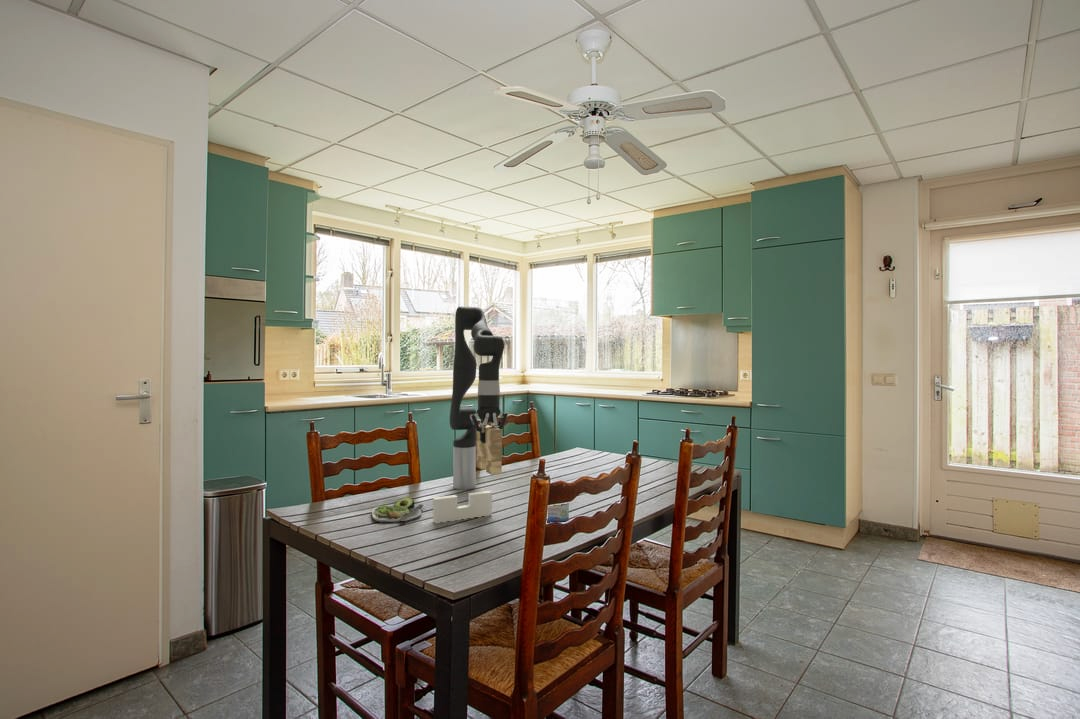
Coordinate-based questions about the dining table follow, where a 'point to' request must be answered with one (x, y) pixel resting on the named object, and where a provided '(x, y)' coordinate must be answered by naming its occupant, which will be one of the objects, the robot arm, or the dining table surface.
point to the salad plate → (398, 511)
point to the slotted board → (462, 507)
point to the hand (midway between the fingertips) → (488, 442)
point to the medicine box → (558, 513)
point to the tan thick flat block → (490, 451)
